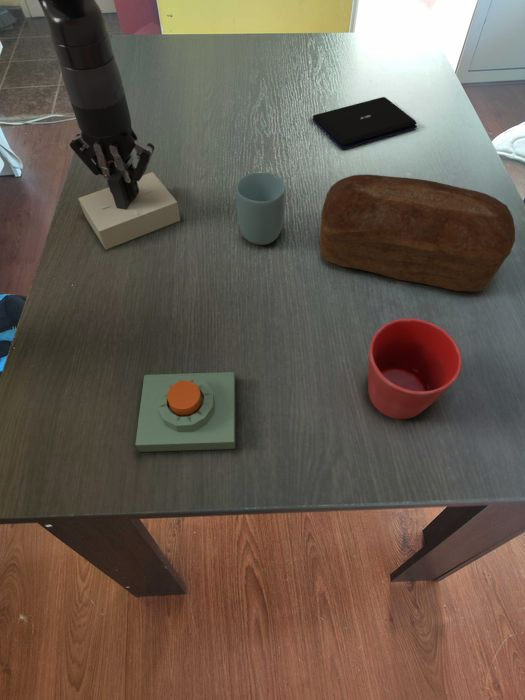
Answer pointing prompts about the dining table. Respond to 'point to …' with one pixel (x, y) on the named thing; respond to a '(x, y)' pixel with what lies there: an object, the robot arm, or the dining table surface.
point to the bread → (416, 231)
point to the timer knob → (119, 190)
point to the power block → (192, 430)
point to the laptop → (363, 122)
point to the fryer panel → (130, 212)
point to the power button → (184, 398)
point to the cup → (260, 206)
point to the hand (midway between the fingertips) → (126, 196)
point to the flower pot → (410, 366)
